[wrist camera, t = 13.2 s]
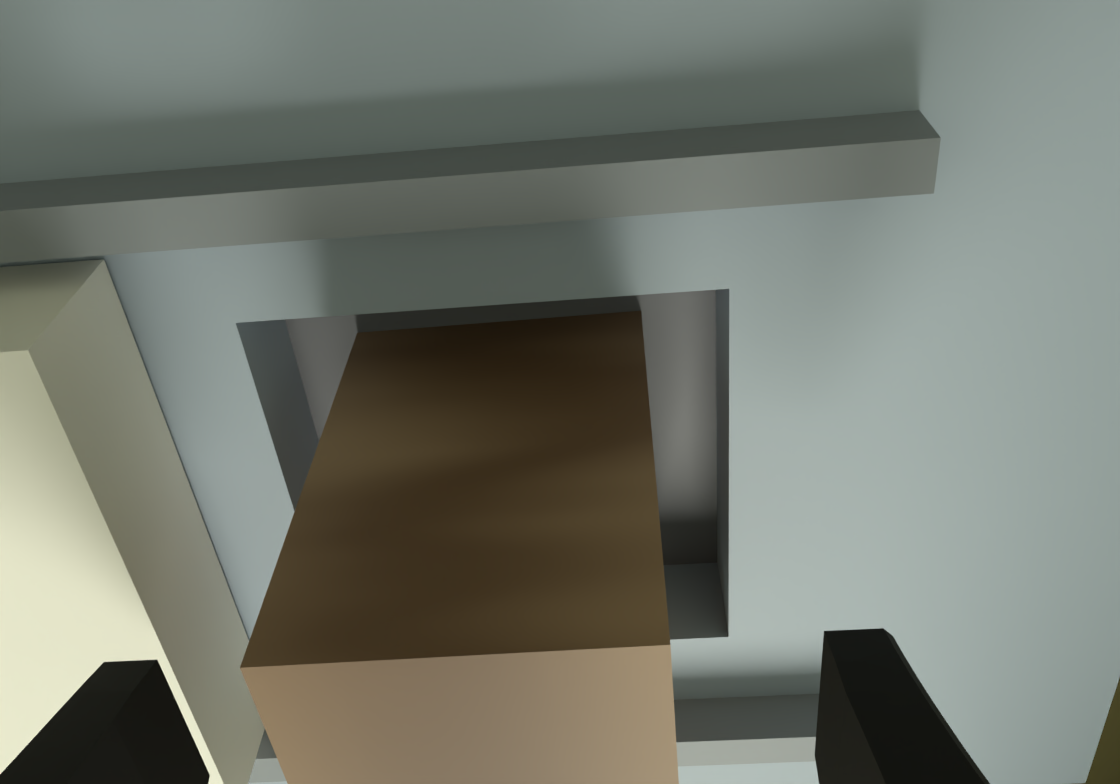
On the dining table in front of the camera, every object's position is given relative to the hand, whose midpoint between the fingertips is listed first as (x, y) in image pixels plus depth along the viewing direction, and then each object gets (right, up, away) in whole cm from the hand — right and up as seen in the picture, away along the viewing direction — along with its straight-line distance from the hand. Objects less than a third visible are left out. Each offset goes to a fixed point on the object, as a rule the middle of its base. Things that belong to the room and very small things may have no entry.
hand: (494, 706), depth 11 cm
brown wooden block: (0, +3, +4) cm, 5 cm away
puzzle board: (-2, +3, +5) cm, 6 cm away
